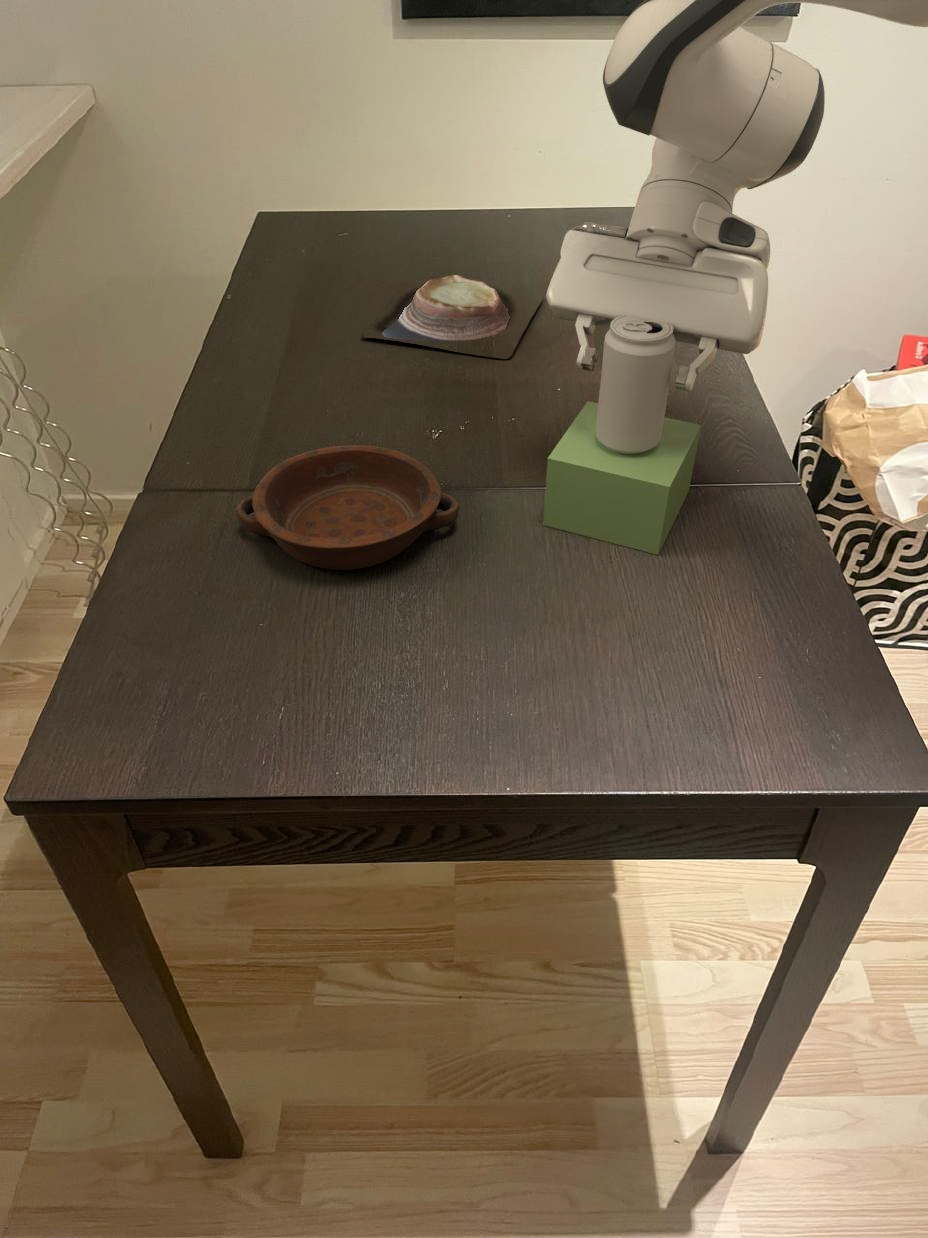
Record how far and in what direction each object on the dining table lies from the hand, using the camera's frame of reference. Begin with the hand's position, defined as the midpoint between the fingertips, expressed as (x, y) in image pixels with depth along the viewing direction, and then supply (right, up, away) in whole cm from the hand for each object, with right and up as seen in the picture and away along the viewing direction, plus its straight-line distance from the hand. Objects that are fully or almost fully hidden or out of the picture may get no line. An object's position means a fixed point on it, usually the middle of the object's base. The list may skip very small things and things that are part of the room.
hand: (632, 378), depth 88 cm
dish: (-27, -14, +8) cm, 31 cm away
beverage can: (0, -5, +5) cm, 7 cm away
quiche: (-17, +19, +44) cm, 51 cm away
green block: (0, -11, +11) cm, 15 cm away
